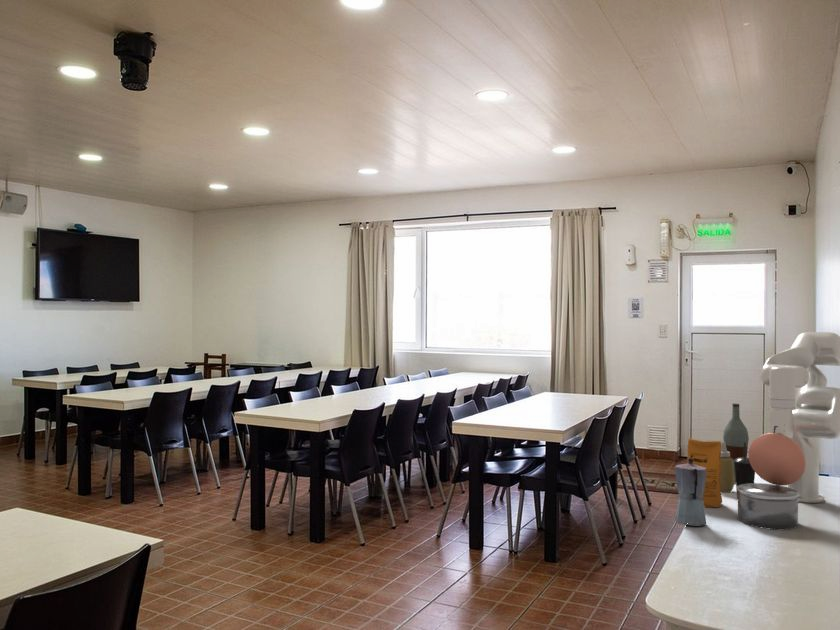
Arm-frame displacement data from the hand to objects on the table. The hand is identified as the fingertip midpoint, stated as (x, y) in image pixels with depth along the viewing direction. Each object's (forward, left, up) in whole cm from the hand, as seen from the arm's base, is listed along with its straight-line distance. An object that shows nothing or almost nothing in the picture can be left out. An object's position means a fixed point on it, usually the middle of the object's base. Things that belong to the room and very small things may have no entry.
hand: (781, 460), depth 233 cm
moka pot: (+32, -16, -18) cm, 40 cm away
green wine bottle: (-38, -30, -18) cm, 51 cm away
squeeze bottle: (-17, -26, -18) cm, 36 cm away
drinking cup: (-10, -16, -18) cm, 25 cm away
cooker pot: (+12, 0, -17) cm, 21 cm away
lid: (+5, 0, +1) cm, 5 cm away
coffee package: (+6, -24, -18) cm, 30 cm away
